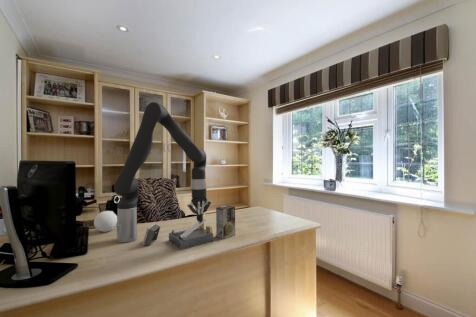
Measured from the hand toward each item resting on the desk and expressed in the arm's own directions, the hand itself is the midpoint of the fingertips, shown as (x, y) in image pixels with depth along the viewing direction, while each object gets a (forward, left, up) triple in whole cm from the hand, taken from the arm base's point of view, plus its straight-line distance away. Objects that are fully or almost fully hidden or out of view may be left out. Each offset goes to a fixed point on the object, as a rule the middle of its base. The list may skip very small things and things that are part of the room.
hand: (199, 221), depth 118 cm
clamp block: (-3, +5, -11) cm, 12 cm away
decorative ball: (-36, +50, -11) cm, 63 cm away
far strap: (-3, +9, -7) cm, 12 cm away
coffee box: (+16, 0, -11) cm, 20 cm away
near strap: (-3, 0, -4) cm, 5 cm away
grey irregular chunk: (-20, +15, -11) cm, 27 cm away
